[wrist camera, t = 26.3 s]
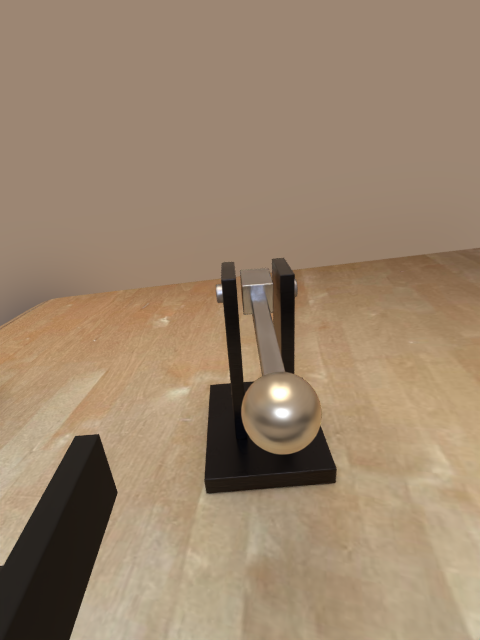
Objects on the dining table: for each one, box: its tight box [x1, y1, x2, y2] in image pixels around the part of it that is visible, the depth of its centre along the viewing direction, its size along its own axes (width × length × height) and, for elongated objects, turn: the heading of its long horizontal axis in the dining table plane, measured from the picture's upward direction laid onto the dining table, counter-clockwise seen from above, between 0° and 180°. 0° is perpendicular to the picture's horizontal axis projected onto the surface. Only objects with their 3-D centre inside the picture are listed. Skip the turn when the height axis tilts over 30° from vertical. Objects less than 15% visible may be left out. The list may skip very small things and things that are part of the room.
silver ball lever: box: [240, 268, 322, 454], centre depth 20 cm, size 15×4×4 cm, turn 3°
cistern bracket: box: [205, 258, 336, 493], centre depth 28 cm, size 12×10×16 cm
